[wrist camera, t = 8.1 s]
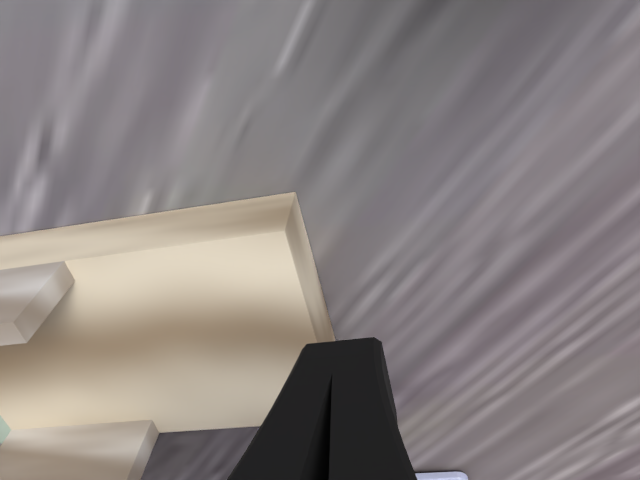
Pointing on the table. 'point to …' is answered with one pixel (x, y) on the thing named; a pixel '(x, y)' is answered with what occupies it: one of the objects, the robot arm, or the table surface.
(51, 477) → the board
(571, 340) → the table surface
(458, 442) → the table surface
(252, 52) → the table surface
